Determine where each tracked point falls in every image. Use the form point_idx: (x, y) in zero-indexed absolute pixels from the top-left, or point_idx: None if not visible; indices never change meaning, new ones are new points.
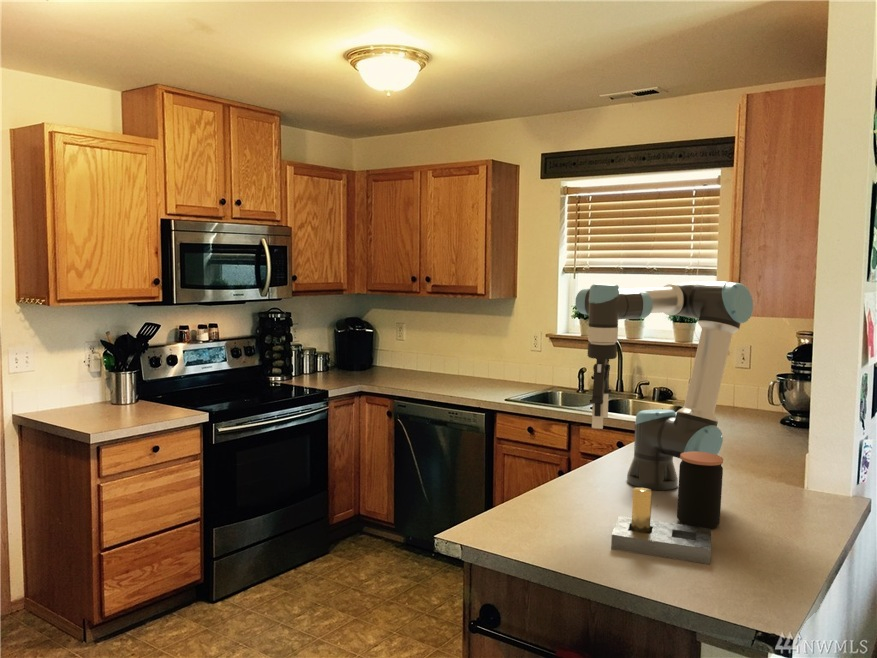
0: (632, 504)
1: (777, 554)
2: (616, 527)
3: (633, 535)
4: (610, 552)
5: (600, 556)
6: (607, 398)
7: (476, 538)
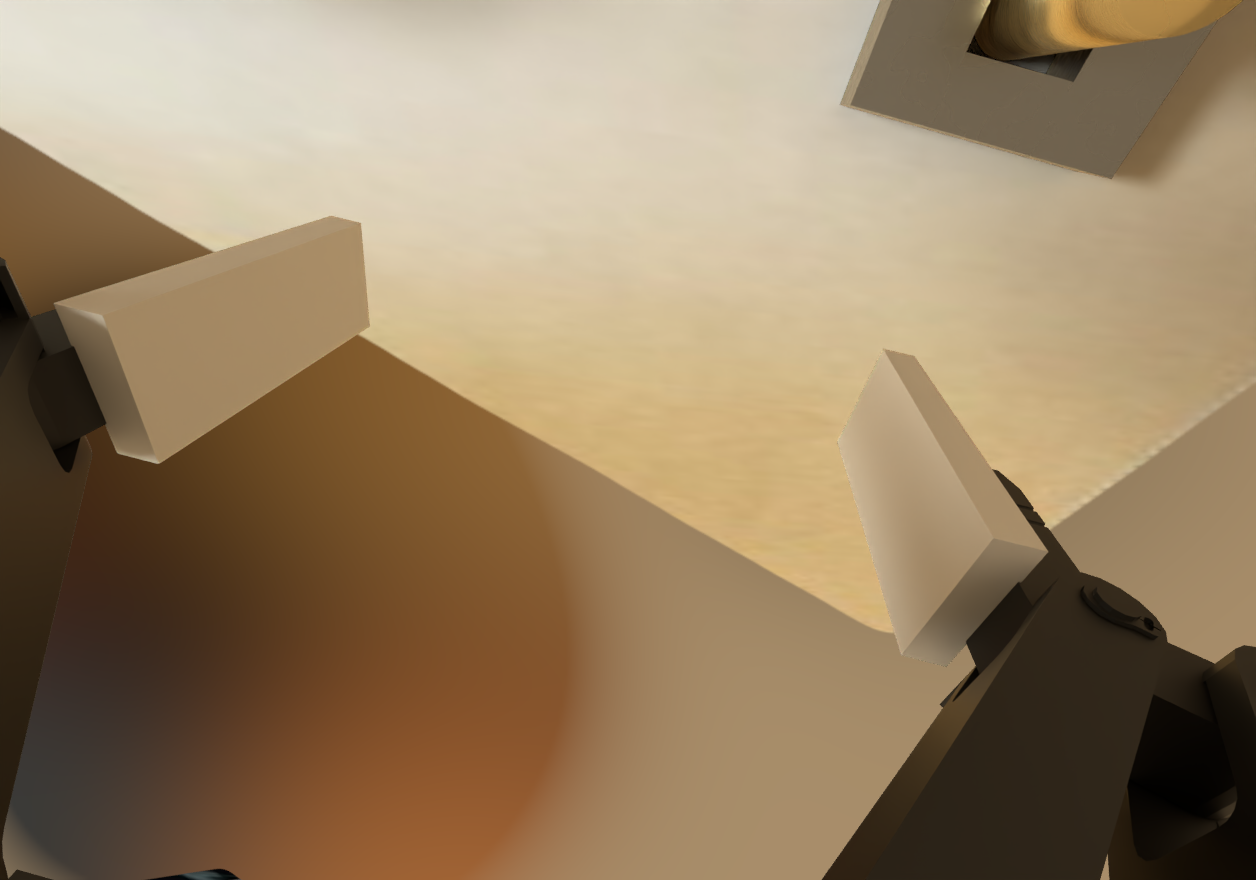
0: (1108, 45)
1: None
2: (1019, 141)
3: (1153, 59)
4: (1114, 179)
5: (1147, 228)
6: (173, 300)
7: None
